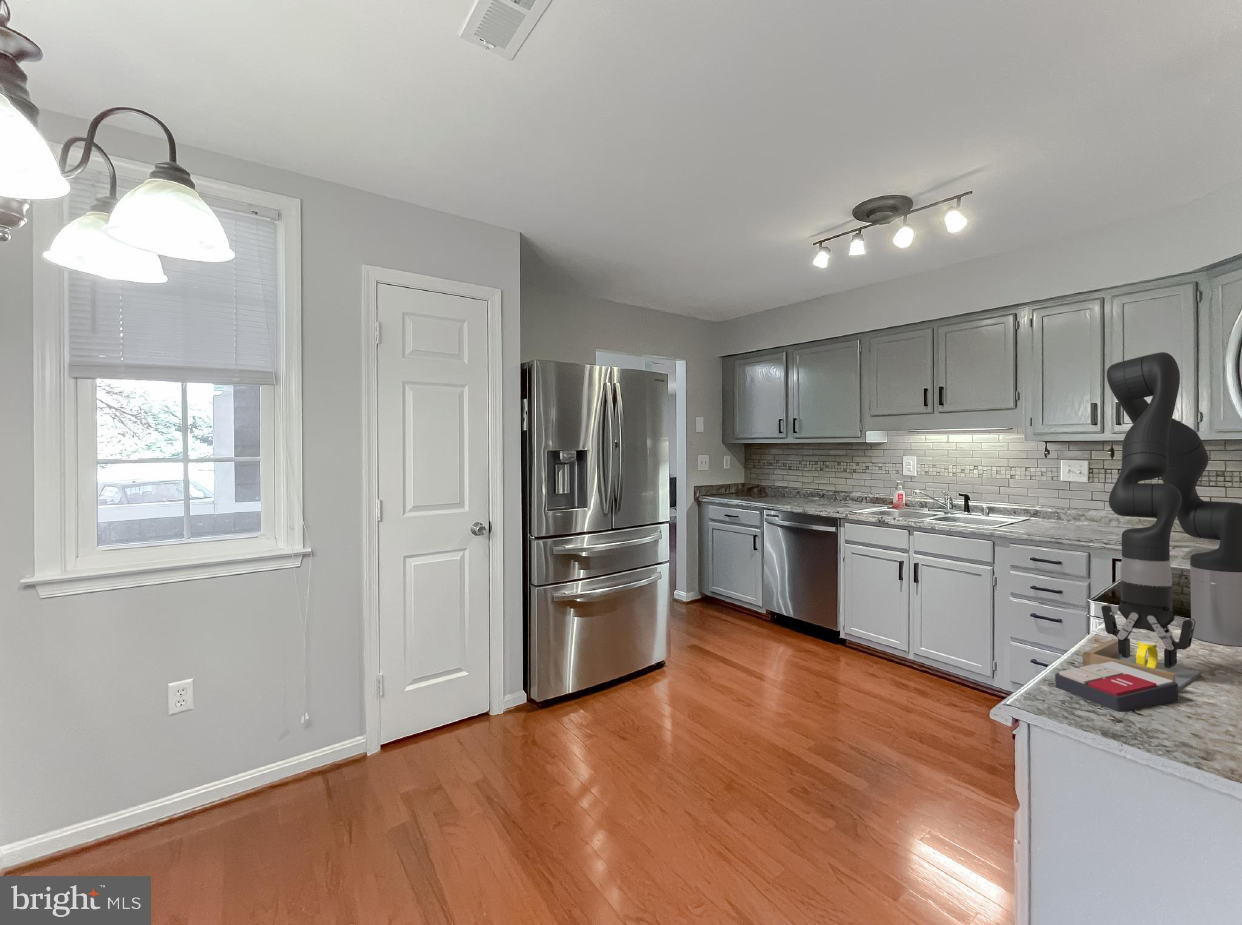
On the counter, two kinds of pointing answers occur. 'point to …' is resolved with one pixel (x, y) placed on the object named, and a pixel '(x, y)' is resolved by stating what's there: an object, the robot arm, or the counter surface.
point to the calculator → (1117, 686)
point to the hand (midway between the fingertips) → (1146, 661)
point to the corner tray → (1111, 654)
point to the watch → (1151, 653)
